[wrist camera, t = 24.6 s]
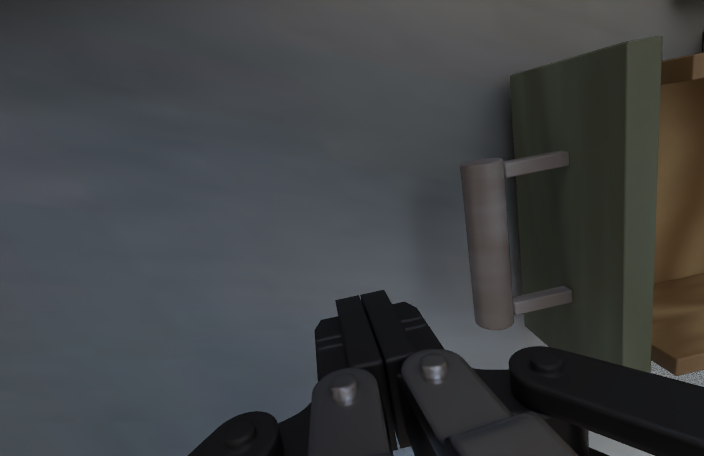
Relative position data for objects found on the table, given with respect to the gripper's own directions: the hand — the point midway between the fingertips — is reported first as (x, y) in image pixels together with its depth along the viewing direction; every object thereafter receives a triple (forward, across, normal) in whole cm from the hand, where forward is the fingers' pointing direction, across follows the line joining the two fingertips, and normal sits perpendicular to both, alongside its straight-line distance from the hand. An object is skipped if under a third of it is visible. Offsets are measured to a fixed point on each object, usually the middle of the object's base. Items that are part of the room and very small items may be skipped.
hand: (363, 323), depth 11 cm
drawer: (+8, -15, 0) cm, 17 cm away
